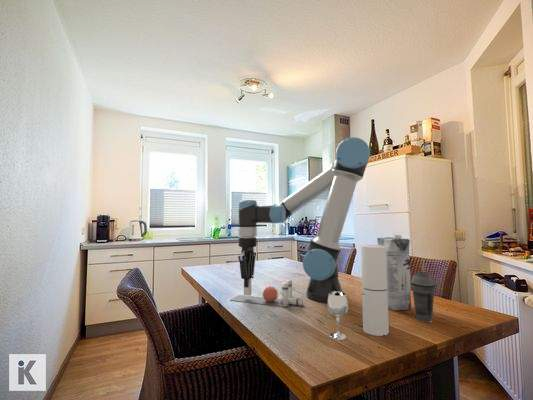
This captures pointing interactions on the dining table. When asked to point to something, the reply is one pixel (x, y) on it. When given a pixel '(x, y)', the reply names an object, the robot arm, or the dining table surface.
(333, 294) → the wineglass
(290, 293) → the pin back right
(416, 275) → the beverage cup
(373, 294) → the cylindrical container
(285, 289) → the pin back left
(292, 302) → the pin front
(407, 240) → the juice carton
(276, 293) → the ball
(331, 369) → the dining table surface
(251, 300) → the grey flat board
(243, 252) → the robot arm
